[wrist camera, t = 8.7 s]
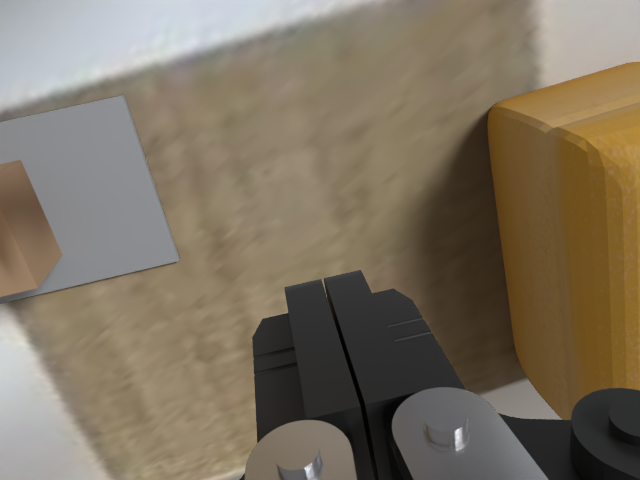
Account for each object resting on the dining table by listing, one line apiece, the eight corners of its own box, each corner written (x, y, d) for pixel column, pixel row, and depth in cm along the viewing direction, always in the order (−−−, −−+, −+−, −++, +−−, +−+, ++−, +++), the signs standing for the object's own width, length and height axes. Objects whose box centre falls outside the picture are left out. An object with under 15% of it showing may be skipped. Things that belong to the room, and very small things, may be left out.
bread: (647, 327, 48) (811, 450, 34) (514, 369, 48) (626, 510, 34) (647, 54, 38) (878, 73, 24) (478, 104, 38) (617, 152, 24)
